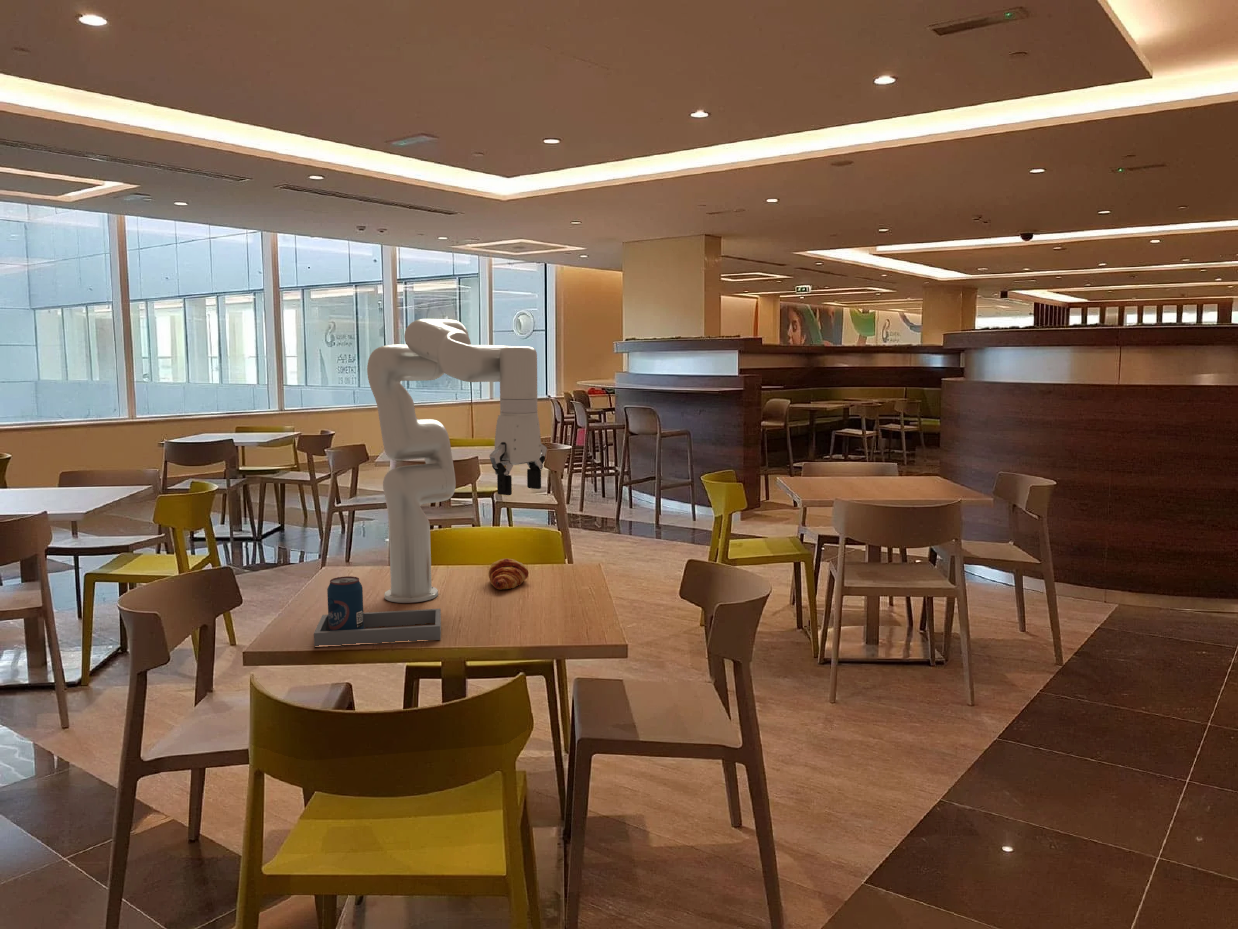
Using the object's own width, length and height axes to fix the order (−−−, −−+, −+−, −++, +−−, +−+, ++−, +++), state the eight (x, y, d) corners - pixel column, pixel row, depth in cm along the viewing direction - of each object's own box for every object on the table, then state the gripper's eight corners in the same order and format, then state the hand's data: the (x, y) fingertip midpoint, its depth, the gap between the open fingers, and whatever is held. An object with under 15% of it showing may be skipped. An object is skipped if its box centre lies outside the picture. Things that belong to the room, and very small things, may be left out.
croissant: (504, 585, 239) (490, 559, 238) (537, 568, 238) (523, 542, 237) (490, 605, 217) (474, 577, 217) (526, 587, 217) (510, 558, 216)
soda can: (321, 639, 182) (319, 582, 180) (343, 630, 188) (341, 574, 187) (350, 643, 179) (348, 585, 178) (371, 633, 186) (369, 577, 184)
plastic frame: (323, 628, 189) (322, 614, 189) (440, 622, 194) (440, 608, 193) (314, 648, 176) (313, 633, 176) (440, 640, 181) (440, 626, 181)
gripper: (530, 405, 189) (530, 484, 191) (476, 409, 175) (477, 495, 177) (558, 406, 185) (559, 487, 188) (506, 410, 171) (507, 498, 173)
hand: (519, 491), depth 182 cm, fingers open, 9 cm apart
